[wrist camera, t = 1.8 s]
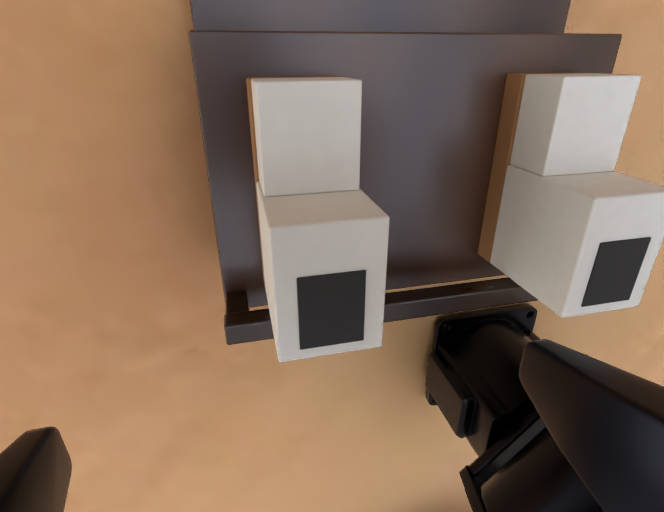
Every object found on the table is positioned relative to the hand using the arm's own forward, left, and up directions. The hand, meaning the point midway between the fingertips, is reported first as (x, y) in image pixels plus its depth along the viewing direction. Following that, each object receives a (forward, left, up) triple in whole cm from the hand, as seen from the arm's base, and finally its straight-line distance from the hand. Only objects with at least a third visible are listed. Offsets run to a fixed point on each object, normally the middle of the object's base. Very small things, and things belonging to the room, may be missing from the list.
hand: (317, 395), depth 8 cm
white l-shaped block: (-10, -2, -8) cm, 13 cm away
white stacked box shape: (-1, -2, -8) cm, 8 cm away
